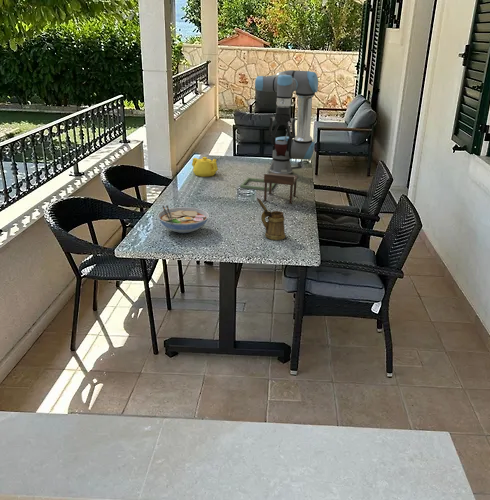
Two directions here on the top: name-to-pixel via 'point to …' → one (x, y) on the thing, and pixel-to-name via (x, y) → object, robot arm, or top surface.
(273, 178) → the stand
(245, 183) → the bottom bay
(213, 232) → the top surface
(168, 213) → the ramen bowl
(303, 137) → the robot arm
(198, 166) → the teapot
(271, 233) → the wooden mug
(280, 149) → the mate gourd
